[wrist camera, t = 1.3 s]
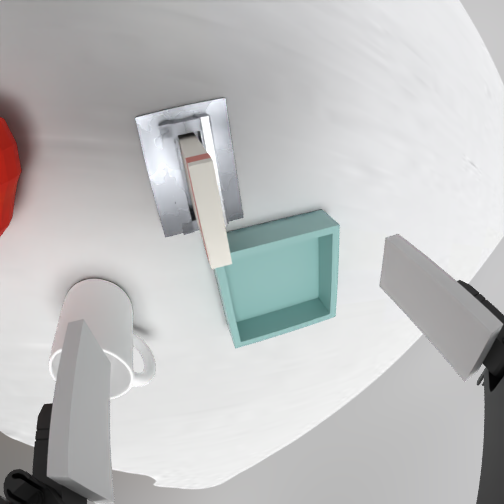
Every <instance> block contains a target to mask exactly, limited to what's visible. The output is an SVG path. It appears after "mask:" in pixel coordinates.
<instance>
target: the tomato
mask: <svg viewBox="0 0 504 504" xmlns="http://www.w3.org/2000/svg"><path fill="white" fill-rule="evenodd" d="M20 173H21V165H20V160H19V155H18V149H17V143H16V141H15V139H14V137H13V135H12V133H11V131H10V129H9V127H8V125H7V123H6V121H5V119H3V118H2V117H0V236H1V235H2V234H3V232H4V231H5V229H6V228H7V227H8V225H9V223H10V221H11V219H12V216H13V207H14V200H15V193H16V187H17V182H18V179H19V176H20Z"/></svg>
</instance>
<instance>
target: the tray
mask: <svg viewBox="0 0 504 504" xmlns="http://www.w3.org/2000/svg"><path fill="white" fill-rule="evenodd" d="M339 228H340V225H339V224H338V223H337V222H336V221H335V220H333V219H332V218H331V217H330V216H329V215H328V214H327V213H325V212H324V211H323V210H322V209H321V210H317V211H313V212H309V213H304V214H300V215H296V216H292V217H287V218H283V219H279V220H275V221H271V222H267V223H263V224H258V225H254V226H250V227H246V228H242V229H238V230H234V231H230V232H226V233H227V239H228V244H229V249H230V255H231V260H232V264H230V265H226V266H222V267H219V268H215V269H214V272H215V276H216V280H217V284H218V288H219V292H220V297H221V301H222V305H223V309H224V313H225V317H226V321H227V325H228V328H229V331H230V334H231V337H232V340H233V343H234V346H235V348H238V347H242V346H245V345H249V344H252V343H256V342H259V341H262V340H266V339H269V338H272V337H275V336H278V335H282V334H285V333H288V332H291V331H294V330H297V329H300V328H303V327H306V326H309V325H312V324H315V323H318V322H321V321H324V320H327V319H330V318H332V317H335V316H336V301H337V284H338V262H339Z"/></svg>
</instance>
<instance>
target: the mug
mask: <svg viewBox="0 0 504 504" xmlns="http://www.w3.org/2000/svg"><path fill="white" fill-rule="evenodd" d="M81 319H84V320H85V322H86V324H87V325H88V327H89V329H90V330H91V332H92V334H93V335H94V337H95V339H96V340H97V342H98V344H99V345H100V347H101V348H102V350H103V351H104V353H105V355H106V356H107V358H108V359H109V361H110V362H111V373H110V399H114V398H117V397H120V396H122V395H124V394H125V393H126V392H128V391H129V390H130V388H131V387H132V386H144V385H146V384H148V383H150V382H151V381H152V379H153V378H154V375H155V371H156V364H155V359H154V356H153V354H152V352H151V350H150V348H149V347H148V345H147V344H146V343H145V342H144V341H143V340H142V339H141V338H140V337H139V336H137V335H136V334H135V333H133V309H132V304H131V301H130V299H129V297H128V296H127V294H126V293H125V292H124V291H123V290H122V289H121V288H120V287H118V286H117V285H115V284H113V283H111V282H109V281H106V280H102V279H87V280H83V281H81V282H79V283H77V284H75V285H74V286H73V287H72V288H71V289H70V290H69V292H68V293H67V295H66V298H65V300H64V303H63V307H62V310H61V314H60V318H59V321H58V325H57V329H56V333H55V337H54V341H53V346H52V350H51V355H50V359H49V370H50V374H51V376H52V377H53V379H54V380H55V382H56V379H57V373H58V368H59V363H60V357H61V352H62V348H63V343H64V338H65V334H66V330H67V325H68V322H73V321H77V320H81ZM133 347H135V348H136V349H137V350H138V351H139V353H140V354H141V356H142V358H143V361H144V370H143V372H142V373H135V372H133Z"/></svg>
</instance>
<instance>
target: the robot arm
mask: <svg viewBox="0 0 504 504" xmlns="http://www.w3.org/2000/svg"><path fill="white" fill-rule="evenodd" d="M379 286H380V287H381V288H382V289H383V290H384V292H385V293H386V294H387V295H388V296H389V297H390V298H391V299H392V300H393V301H394V302H395V303H396V304H397V305H398V306H399V308H400V309H401V310H402V311H403V312H404V313H405V314H406V315H407V316H408V317H409V318H410V320H411V321H412V322H413V323H414V324H415V325H416V326H417V327H418V328H419V329H420V331H421V332H422V333H423V334H424V335H425V336H426V337H427V338H428V340H429V341H430V342H431V343H432V344H433V345H434V346H435V348H436V349H437V350H438V351H439V352H440V353H441V354H442V355H443V357H444V358H445V359H446V360H447V362H448V363H449V364H450V365H451V366H452V367H453V369H454V370H455V371H456V372H457V373H458V375H460V377H461V378H462V379H463V381H464V382H465V381H466V380H468V379H469V378H470V377H472V376H473V375H475V374H476V373H477V371H478V370H479V368H480V367H481V365H482V363H483V364H484V365H485V366H486V368H485V369H484V371H483V373H482V374H481V376H480V377H479V379H478V381H477V385H479V384H480V383H481V381H482V380H483V378H484V382H483V384H482V386H484V393H485V395H484V396H485V419H484V421H485V422H484V445H483V457H482V467H481V476H480V484H479V491H478V497H477V503H476V504H504V315H503V314H502V313H501V312H500V311H499V310H498V309H496V308H495V307H494V306H493V305H492V304H491V303H490V302H489V301H488V300H485V298H484V297H483V296H482V295H481V294H479V292H478V291H476V290H475V289H474V288H473V287H472V286H470V285H469V284H467V283H465V282H463V281H461V280H459V281H456V280H455V279H453V278H452V277H451V276H450V275H449V274H448V273H446V272H445V271H444V270H443V269H442V268H440V267H439V266H438V265H437V264H436V263H434V262H433V261H432V260H431V259H429V258H428V257H427V256H426V255H425V254H423V253H422V252H421V251H420V250H418V249H417V248H416V247H414V246H413V245H412V244H411V243H409V242H408V241H407V240H406V239H404V238H403V237H402V236H400V235H399V234H396V235H393V236H390V237H386V238H385V246H384V255H383V263H382V271H381V278H380V285H379ZM110 373H111V362H110V361H109V359H108V358H107V356H106V355H105V353H104V351H103V350H102V348H101V347H100V345H99V344H98V342H97V340H96V339H95V337H94V335H93V334H92V332H91V330H90V329H89V327H88V325H87V324H86V322H85V320H84V319H81V320H77V321H73V322H68V325H67V330H66V334H65V338H64V343H63V348H62V352H61V357H60V363H59V368H58V373H57V379H56V385H55V392H54V399H53V403H52V404H44V405H43V407H42V409H41V411H40V413H39V415H38V421H37V431H36V437H35V439H36V441H35V447H34V459H33V475H30V474H29V473H27V472H25V471H23V470H21V469H18V470H13V471H12V472H10V473H9V474H8V476H7V477H6V478H5V482H4V494H5V496H6V499H5V498H4V497H2V496H0V504H87V499H88V500H90V501H92V502H94V503H115V501H114V492H113V480H112V467H111V448H110Z"/></svg>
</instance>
